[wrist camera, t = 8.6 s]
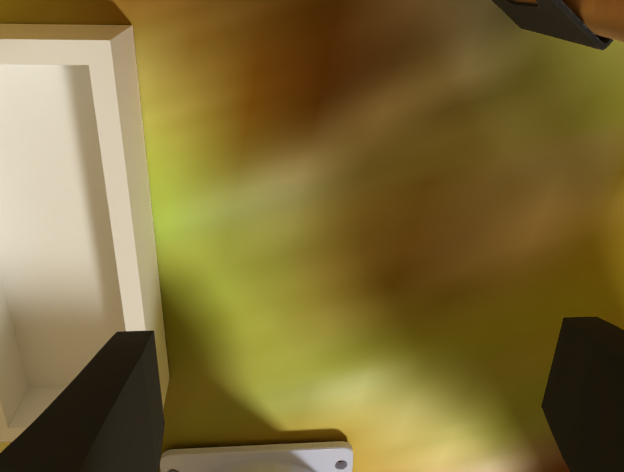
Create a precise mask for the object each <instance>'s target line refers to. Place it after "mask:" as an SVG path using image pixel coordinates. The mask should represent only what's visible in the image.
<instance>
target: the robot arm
mask: <svg viewBox="0 0 624 472" xmlns="http://www.w3.org/2000/svg"><path fill="white" fill-rule="evenodd" d="M542 409H543V411H544V414H545V416H546V419H547V421H548V424H549V426H550V429H551V431H552V434H553V436H554V439H555V441H556V443H557V445H558V448H559V450H560V452H561V454H562V457H563V459H564V460H565V462H566V464H567V466H568V468H569V469H570V471H571V472H624V330H622V329H620V328H618V327H616V326H614V325H612V324H611V323H609V322H606V321H604V320H602V319H600V318H598V317H573V318H563V322H562V326H561V330H560V334H559V338H558V342H557V346H556V350H555V354H554V358H553V362H552V366H551V370H550V374H549V378H548V382H547V386H546V390H545V394H544V398H543V402H542ZM164 424H165V422H164V413H163V405H162V396H161V387H160V379H159V370H158V361H157V352H156V344H155V335H154V330H152V331H119V332H116V333H115V334H114V335H113V336H112V337H111V338H110V339H109V340H108V341H107V342H106V344H105V345H104V346H103V347H102V348H101V349H100V350H99V351H98V353H97V354H96V355H95V356H94V357H93V358H92V359H91V360H90V362H89V363H88V364H87V365H86V366H85V367H84V368H83V369H82V371H81V372H80V373H79V374H78V375H77V376H76V377H75V378H74V379H73V381H72V382H71V383H70V384H69V385H68V386H67V387H66V388H65V389H64V390H63V391H62V392H61V393H60V394H59V395H58V397H57V398H56V399H55V400H54V401H53V402H52V403H51V404H50V405H49V406H48V407H47V408H46V409H45V410H44V411H43V412H42V413H41V414H40V415H39V416H38V417H37V418H36V419H35V420H34V422H33V423H32V424H31V425H29V426H28V427H27V428H26V429H25V430H24V431H23V432H22V433H21V434H20V435H19V436H18V437H17V438H16V439H15V440H14V441H13V442H12V443H11V444H10V445H9V446H8V447H6V448H5V449H4V450H3V451H2V452H1V453H0V472H159V466H160V470H161V472H352V466H353V451H352V446H351V445H350V444H349V443H347V442H345V441H334V442H313V443H292V444H271V445H250V446H230V447H209V448H188V449H171V450H167V451H165V452H164V453H163V454H162V455H161V450H162V441H163V432H164ZM160 458H161V460H160ZM341 460H343V462H338V461H341ZM170 469H176V470H175V471H174V470H170Z"/></svg>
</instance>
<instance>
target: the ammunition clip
mask: <svg viewBox="0 0 624 472" xmlns="http://www.w3.org/2000/svg"><path fill="white" fill-rule="evenodd" d="M492 1H493V2H494V3H495V4H496V5H497V6H498V7H499V8H501V9H502V10H503V11H504V12H505V13H506V14H507V15H508V16H509V17H510V18H511V19H512V20H513V21H514V22H515V23H516V24H517V25H518V26H519V27H520V28H522V29H526V30H530V31H533V32H537V33H541V34H545V35H548V36H552V37H556V38H559V39H563V40H567V41H570V42H574V43H578V44H582V45H585V46H589V47H593V48H596V49H600V50H604V49H606V48H607V47H608V46H609V45H610V43H611V42H612V41H613V40H612V39H615V40H618V41H622V42H624V0H492Z"/></svg>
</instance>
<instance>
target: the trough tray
mask: <svg viewBox="0 0 624 472" xmlns="http://www.w3.org/2000/svg"><path fill="white" fill-rule="evenodd" d="M152 330H154V335H155V344H156V352H157V361H158V370H159V379H160V387H161V396H162V405H163V408H164V403H165V398H166V393H167V388H168V383H169V378H170V377H169V368H168V358H167V349H166V339H165V330H164V320H163V311H162V301H161V292H160V282H159V273H158V263H157V254H156V244H155V234H154V225H153V215H152V206H151V196H150V187H149V177H148V168H147V158H146V149H145V139H144V130H143V120H142V111H141V101H140V92H139V82H138V73H137V63H136V54H135V44H134V35H133V25H72V24H0V442H13V441H14V440H15V439H16V438H17V437H18V436H19V435H20V434H21V433H22V432H23V431H24V430H25V429H26V428H27V427H28V426H29V425H31V424H32V423H33V422H34V420H35V419H36V418H37V417H38V416H39V415H40V414H41V413H42V412H43V411H44V410H45V409H46V408H47V407H48V406H49V405H50V404H51V403H52V402H53V401H54V400H55V399H56V398H57V397H58V395H59V394H60V393H61V392H62V391H63V390H64V389H65V388H66V387H67V386H68V385H69V384H70V383H71V382H72V381H73V379H74V378H75V377H76V376H77V375H78V374H79V373H80V372H81V371H82V369H83V368H84V367H85V366H86V365H87V364H88V363H89V362H90V360H91V359H92V358H93V357H94V356H95V355H96V354H97V353H98V351H99V350H100V349H101V348H102V347H103V346H104V345H105V344H106V342H107V341H108V340H109V339H110V338H111V337H112V336H113V335H114V334H115V333H116V332H119V331H152Z"/></svg>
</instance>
